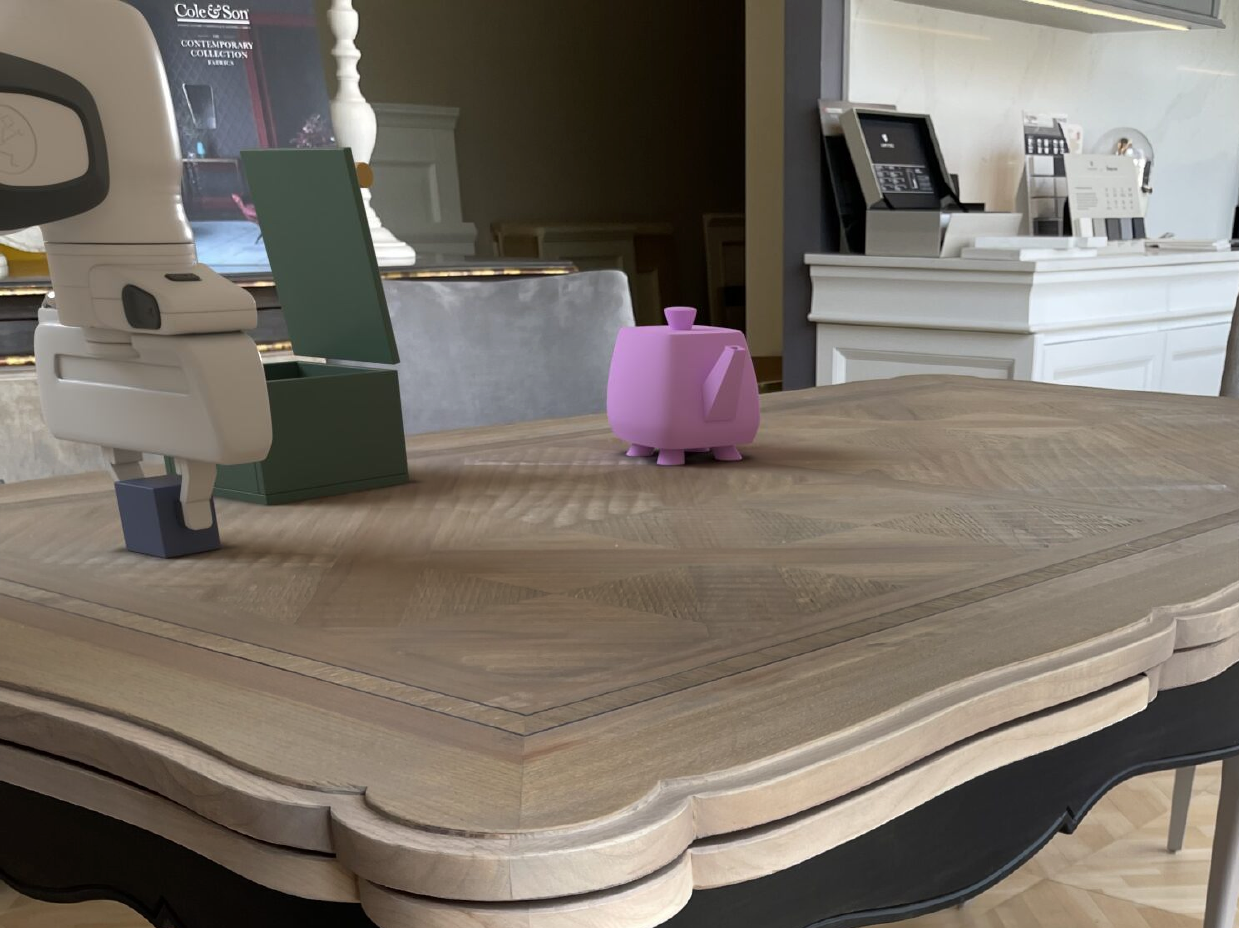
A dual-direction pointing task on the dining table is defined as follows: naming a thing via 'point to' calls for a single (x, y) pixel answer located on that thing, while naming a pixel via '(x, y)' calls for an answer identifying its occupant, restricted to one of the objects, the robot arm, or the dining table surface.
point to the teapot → (682, 389)
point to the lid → (322, 251)
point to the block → (160, 518)
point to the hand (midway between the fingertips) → (169, 523)
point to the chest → (322, 435)
